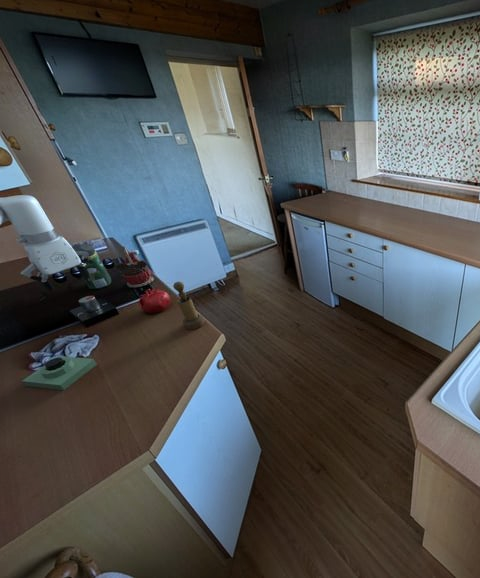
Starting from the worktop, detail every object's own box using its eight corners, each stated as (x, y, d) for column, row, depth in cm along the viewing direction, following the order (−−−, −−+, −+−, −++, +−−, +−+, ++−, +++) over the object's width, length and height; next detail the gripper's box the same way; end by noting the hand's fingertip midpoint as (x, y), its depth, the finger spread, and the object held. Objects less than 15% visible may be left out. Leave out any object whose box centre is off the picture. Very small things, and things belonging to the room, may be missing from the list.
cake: (123, 290, 127) (103, 252, 117) (130, 280, 134) (111, 244, 125) (153, 286, 130) (135, 248, 121) (157, 276, 138) (141, 240, 128)
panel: (73, 317, 111) (69, 310, 109) (105, 304, 118) (101, 297, 116) (86, 327, 105) (82, 320, 104) (119, 313, 113) (115, 307, 111)
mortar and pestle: (180, 327, 106) (161, 285, 97) (195, 317, 111) (179, 276, 102) (193, 331, 104) (175, 289, 95) (208, 321, 109) (193, 280, 100)
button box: (26, 386, 83) (17, 376, 81) (62, 360, 92) (55, 351, 90) (64, 390, 82) (56, 380, 80) (97, 364, 91) (91, 354, 89)
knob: (87, 313, 107) (80, 303, 105) (82, 310, 109) (75, 299, 107) (102, 307, 111) (96, 297, 108) (97, 304, 113) (90, 293, 110)
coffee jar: (90, 282, 132) (67, 244, 122) (112, 277, 136) (92, 240, 126) (88, 292, 125) (63, 252, 116) (111, 286, 129) (90, 248, 120)
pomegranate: (176, 299, 121) (168, 280, 116) (168, 313, 113) (159, 293, 108) (148, 303, 119) (139, 283, 114) (138, 317, 111) (127, 297, 106)
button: (44, 370, 84) (40, 365, 83) (57, 361, 87) (54, 356, 86) (55, 371, 83) (52, 367, 82) (68, 362, 86) (65, 357, 85)
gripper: (9, 248, 84) (44, 298, 93) (80, 229, 98) (105, 274, 106) (-6, 244, 86) (30, 294, 95) (66, 226, 100) (91, 270, 109)
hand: (70, 283), depth 101 cm, fingers open, 9 cm apart
